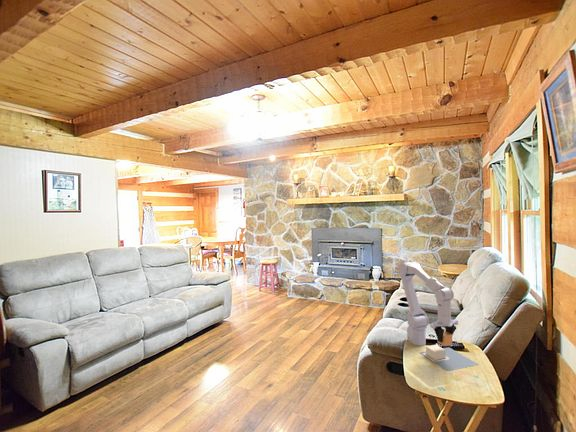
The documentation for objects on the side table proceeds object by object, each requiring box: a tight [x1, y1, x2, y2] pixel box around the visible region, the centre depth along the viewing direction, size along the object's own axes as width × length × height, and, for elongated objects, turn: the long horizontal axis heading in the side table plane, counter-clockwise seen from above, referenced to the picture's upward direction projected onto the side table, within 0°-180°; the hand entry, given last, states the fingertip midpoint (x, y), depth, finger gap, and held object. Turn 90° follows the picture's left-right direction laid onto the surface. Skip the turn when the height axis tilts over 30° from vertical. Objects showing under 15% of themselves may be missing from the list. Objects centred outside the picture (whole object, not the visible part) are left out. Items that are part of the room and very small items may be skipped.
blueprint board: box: [419, 346, 480, 372], centre depth 146 cm, size 18×18×1 cm
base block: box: [425, 344, 446, 360], centre depth 148 cm, size 6×6×4 cm
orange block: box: [436, 330, 453, 347], centre depth 146 cm, size 4×4×5 cm
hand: (444, 340), depth 146 cm, fingers closed on orange block, 4 cm apart
